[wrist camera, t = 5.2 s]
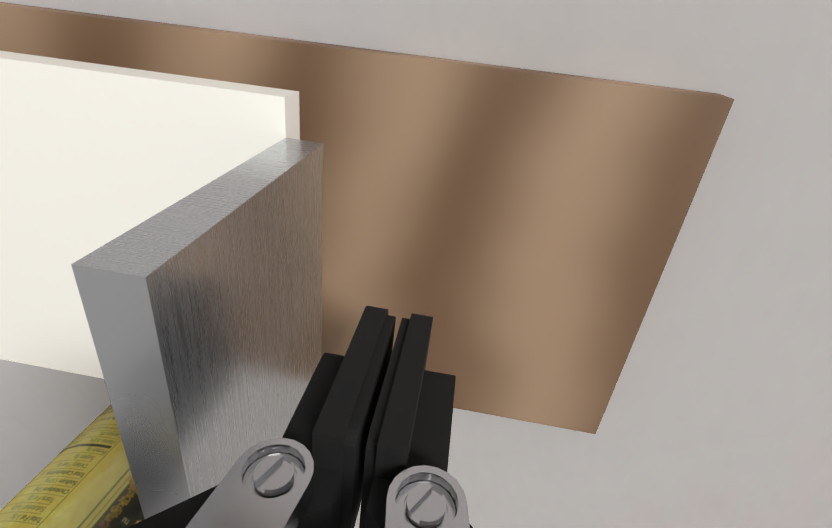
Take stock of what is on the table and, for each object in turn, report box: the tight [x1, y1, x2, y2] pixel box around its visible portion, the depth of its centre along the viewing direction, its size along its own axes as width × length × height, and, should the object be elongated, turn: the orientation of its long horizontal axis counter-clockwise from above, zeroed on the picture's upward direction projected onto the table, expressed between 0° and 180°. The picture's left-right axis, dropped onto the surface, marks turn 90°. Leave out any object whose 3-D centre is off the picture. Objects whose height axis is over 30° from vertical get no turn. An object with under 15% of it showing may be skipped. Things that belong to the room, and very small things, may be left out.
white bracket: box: [0, 51, 323, 519], centre depth 13 cm, size 14×11×10 cm
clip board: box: [0, 2, 734, 434], centre depth 17 cm, size 26×13×1 cm, turn 84°
